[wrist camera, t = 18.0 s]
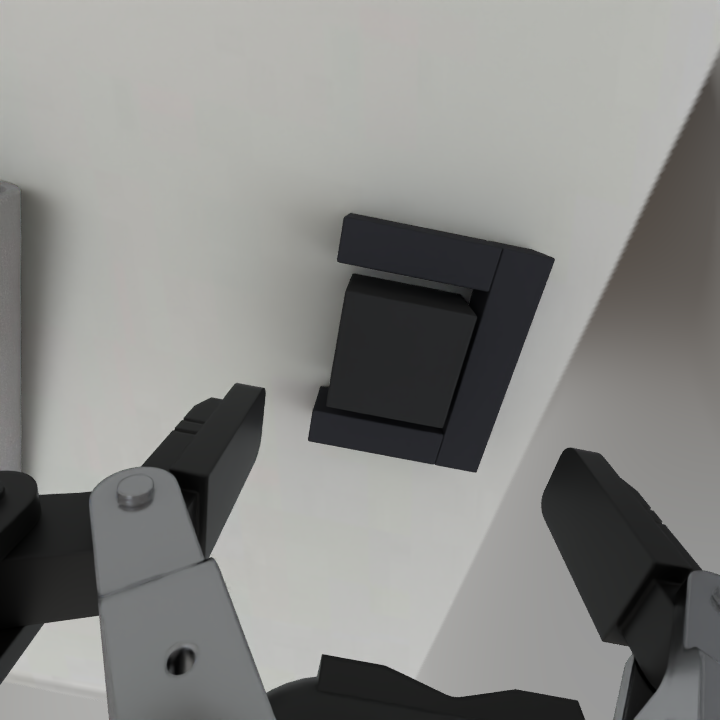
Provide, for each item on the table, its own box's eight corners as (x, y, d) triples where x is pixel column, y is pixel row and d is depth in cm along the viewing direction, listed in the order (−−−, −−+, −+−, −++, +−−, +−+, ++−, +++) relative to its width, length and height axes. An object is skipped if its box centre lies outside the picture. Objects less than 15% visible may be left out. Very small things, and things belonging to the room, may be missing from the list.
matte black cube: (461, 294, 18) (478, 316, 15) (433, 391, 20) (443, 429, 17) (352, 272, 18) (345, 290, 15) (334, 372, 20) (325, 407, 17)
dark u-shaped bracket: (349, 212, 17) (343, 215, 15) (533, 249, 17) (556, 258, 15) (315, 414, 21) (307, 441, 19) (466, 442, 21) (476, 473, 19)
